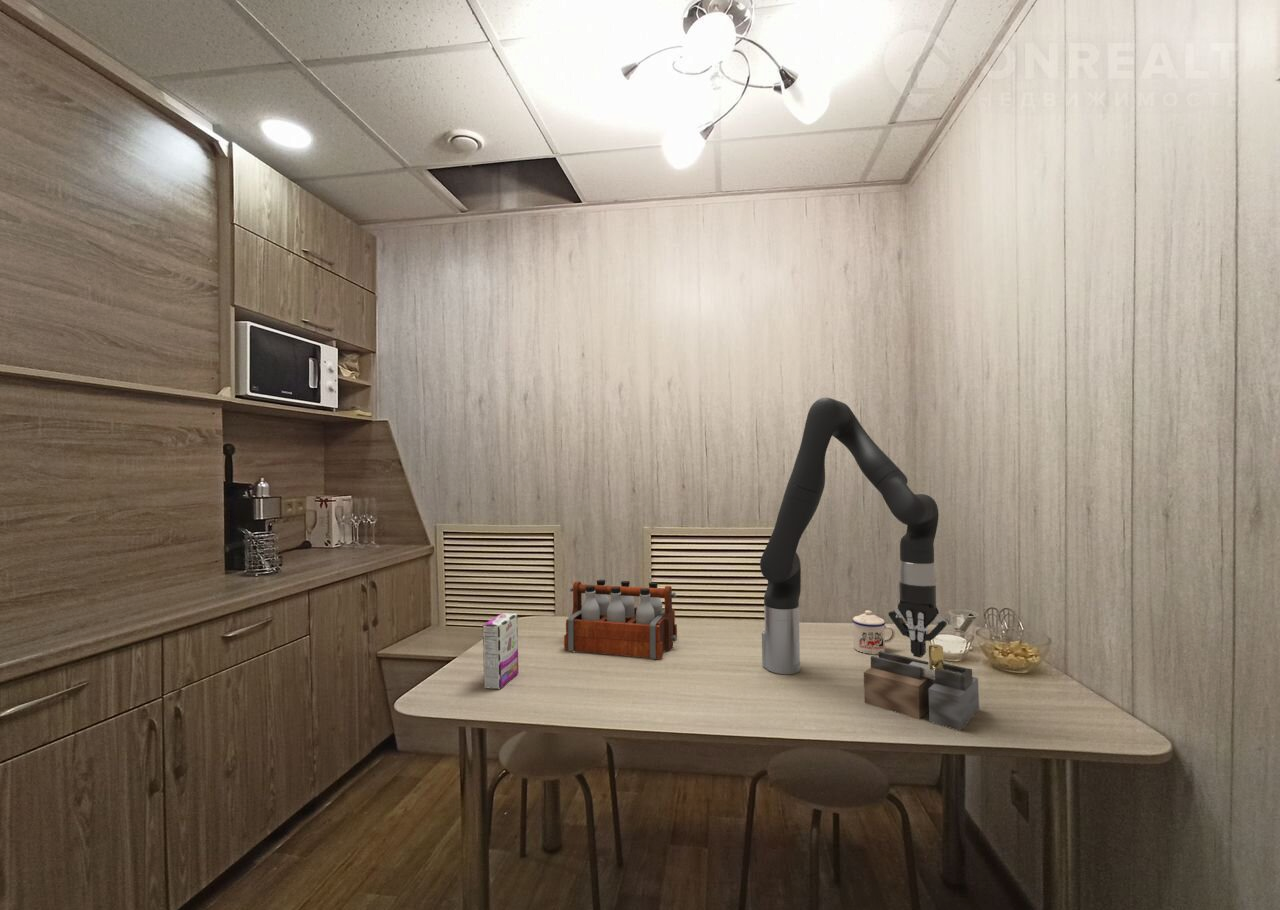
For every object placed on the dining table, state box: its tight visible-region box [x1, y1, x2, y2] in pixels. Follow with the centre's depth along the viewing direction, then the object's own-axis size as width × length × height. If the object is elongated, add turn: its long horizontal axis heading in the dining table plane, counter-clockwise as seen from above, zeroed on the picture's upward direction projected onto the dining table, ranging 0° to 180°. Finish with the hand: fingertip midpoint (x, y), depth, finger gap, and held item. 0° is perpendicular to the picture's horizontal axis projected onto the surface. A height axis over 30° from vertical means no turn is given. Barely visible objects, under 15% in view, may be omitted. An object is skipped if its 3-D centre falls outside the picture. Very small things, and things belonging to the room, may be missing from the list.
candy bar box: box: [482, 612, 519, 689], centre depth 142 cm, size 11×5×16 cm, turn 168°
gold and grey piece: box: [909, 643, 963, 680], centre depth 122 cm, size 11×3×7 cm, turn 45°
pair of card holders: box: [863, 651, 980, 732], centre depth 124 cm, size 20×14×10 cm
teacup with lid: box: [851, 609, 896, 655], centre depth 162 cm, size 12×9×12 cm
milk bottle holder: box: [563, 579, 678, 660], centre depth 171 cm, size 21×35×19 cm, turn 73°
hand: (918, 656), depth 124 cm, fingers closed
